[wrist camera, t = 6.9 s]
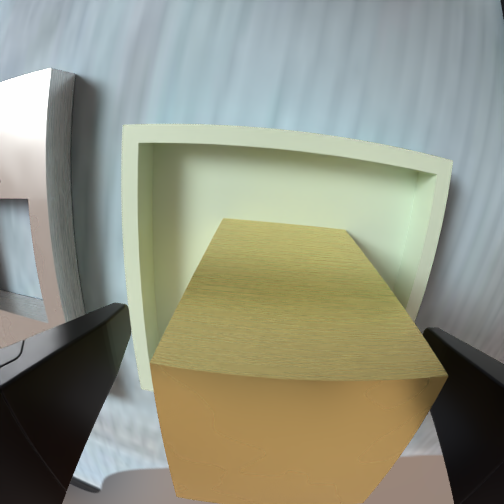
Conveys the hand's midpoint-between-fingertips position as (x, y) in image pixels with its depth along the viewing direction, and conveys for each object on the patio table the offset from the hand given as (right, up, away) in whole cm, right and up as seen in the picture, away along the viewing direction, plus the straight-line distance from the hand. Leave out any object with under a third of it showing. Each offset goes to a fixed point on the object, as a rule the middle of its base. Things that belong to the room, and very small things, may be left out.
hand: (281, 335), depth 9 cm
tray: (0, +2, +4) cm, 4 cm away
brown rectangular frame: (-13, +3, +4) cm, 14 cm away
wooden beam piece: (0, +1, +4) cm, 4 cm away
